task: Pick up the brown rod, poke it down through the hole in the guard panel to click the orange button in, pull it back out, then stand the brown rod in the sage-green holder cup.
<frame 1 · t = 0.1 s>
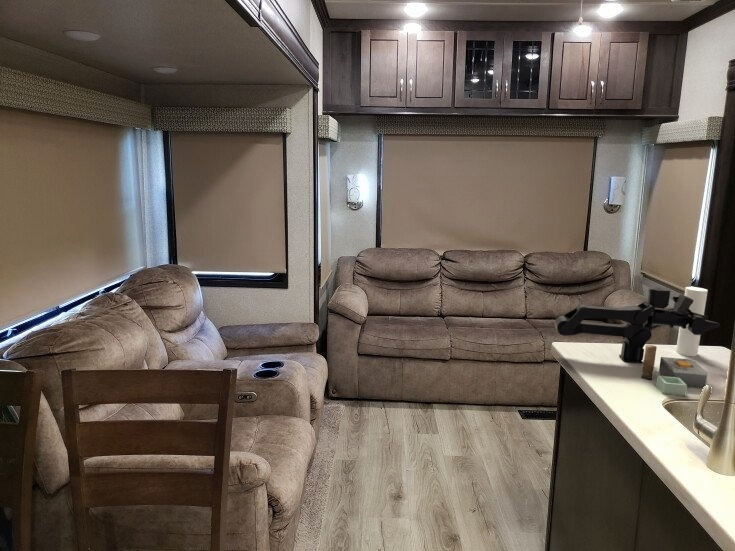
hand: (713, 321, 197), 17 cm above the worktop, tool horizontal, fingers open, 9 cm apart
button: (682, 367, 185), point 4 cm above the worktop, slide at 0.0 cm
guard panel: (680, 380, 186), on the worktop
holder cup: (670, 390, 176), on the worktop
brown rod: (646, 378, 187), on the worktop
cylindrical container: (686, 353, 214), on the worktop
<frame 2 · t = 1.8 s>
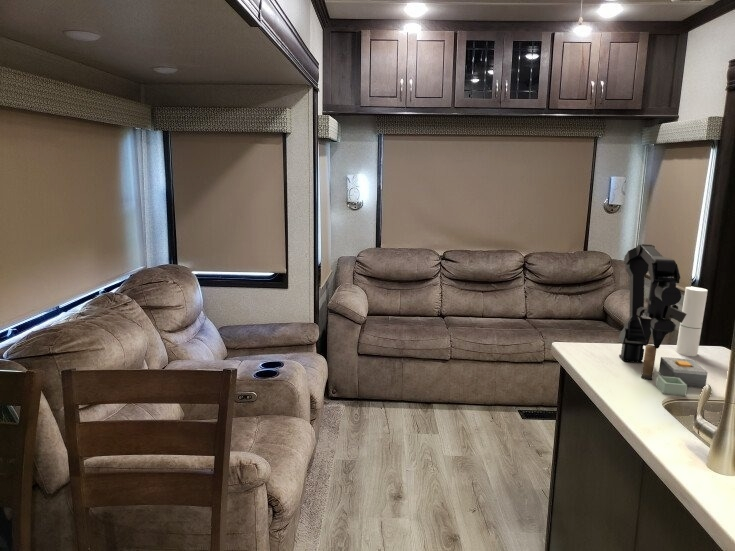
hand: (651, 343, 184), 12 cm above the worktop, tool pointing down, fingers open, 9 cm apart
nothing on the worktop moved.
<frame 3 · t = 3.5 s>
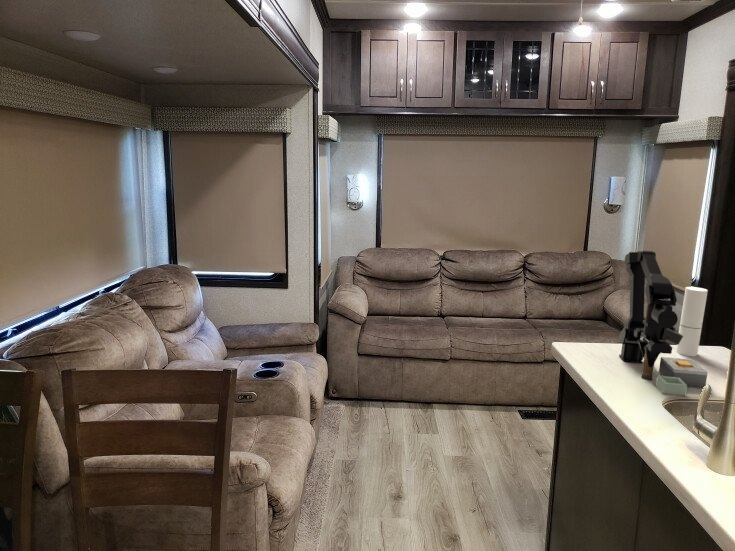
hand: (648, 365, 186), 5 cm above the worktop, tool pointing down, fingers closed on brown rod, 3 cm apart
brown rod: (646, 378, 187), on the worktop, touching gripper
everything else where it was.
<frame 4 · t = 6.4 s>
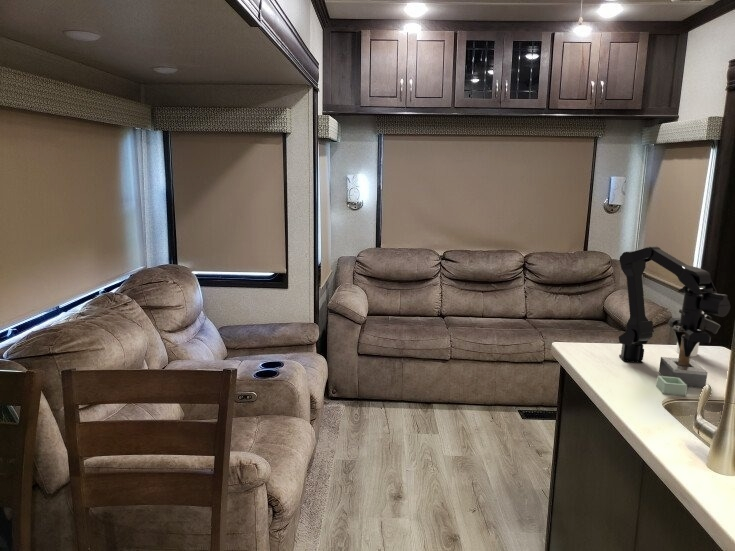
hand: (684, 354, 184), 9 cm above the worktop, tool pointing down, fingers closed on brown rod, 3 cm apart
button: (682, 373, 185), point 2 cm above the worktop, slide at 1.8 cm, touching brown rod
brown rod: (682, 367, 185), point 4 cm above the worktop, touching button, gripper
everything else where it was.
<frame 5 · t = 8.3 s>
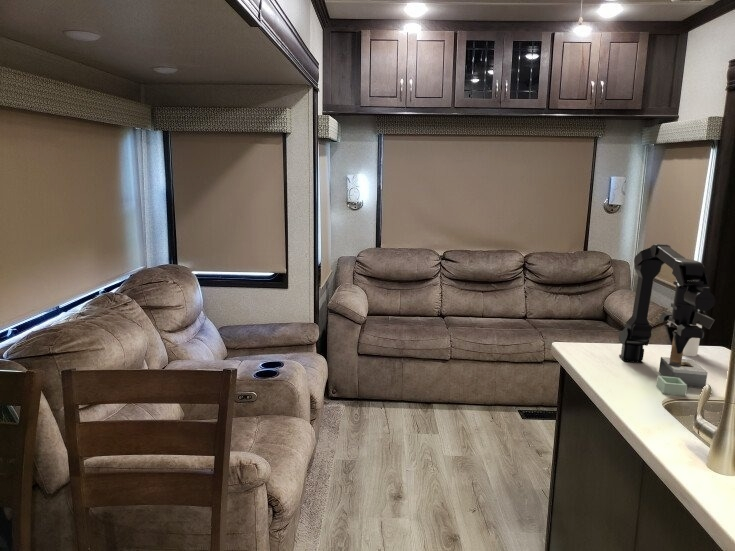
hand: (676, 351, 174), 13 cm above the worktop, tool pointing down, fingers closed on brown rod, 3 cm apart
button: (682, 373, 185), point 2 cm above the worktop, slide at 1.8 cm
brown rod: (674, 365, 175), point 8 cm above the worktop, touching gripper
everything else where it was.
when the fingers open (6 cm above the worktop, at t = 9.7 s): brown rod drops 1 cm, resting on holder cup.
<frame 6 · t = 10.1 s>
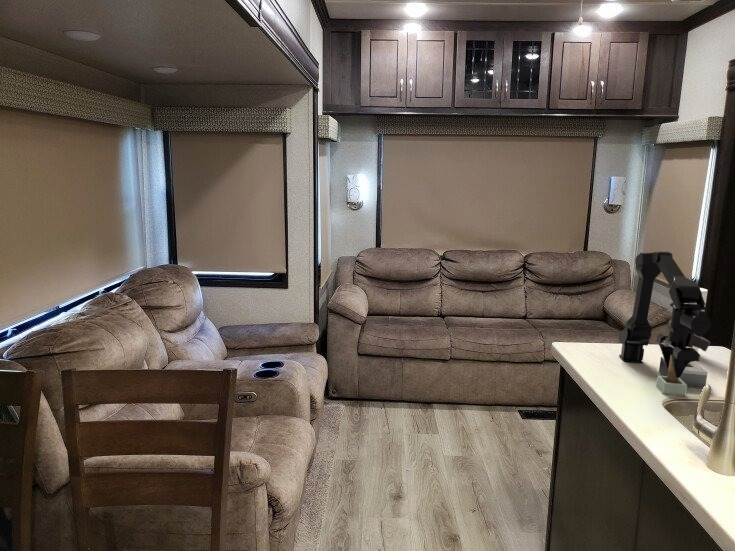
hand: (673, 372, 175), 6 cm above the worktop, tool pointing down, fingers open, 7 cm apart
brown rod: (670, 389, 176), resting on holder cup
everything else where it was.
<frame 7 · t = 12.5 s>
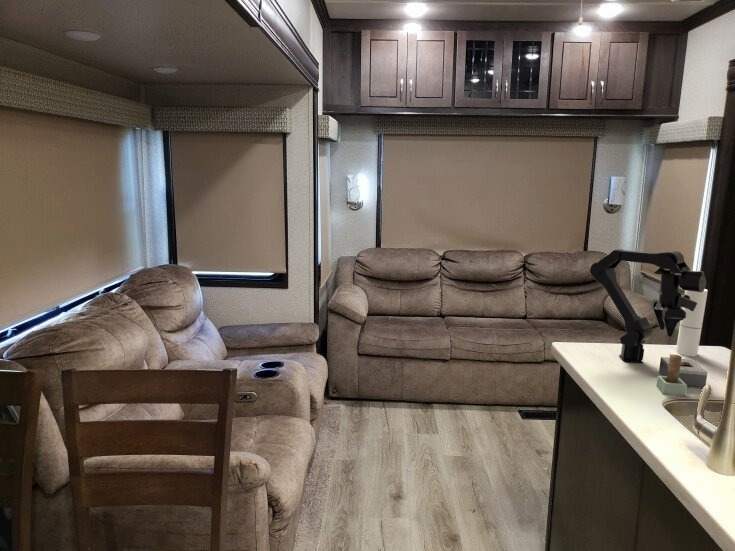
hand: (665, 333, 193), 13 cm above the worktop, tool pointing down, fingers open, 9 cm apart
nothing on the worktop moved.
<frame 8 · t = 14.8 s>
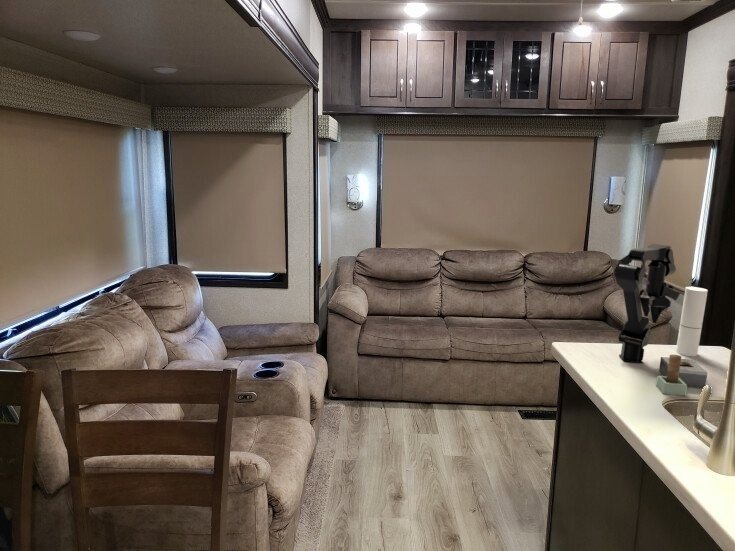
hand: (649, 319, 210), 13 cm above the worktop, tool pointing down, fingers open, 9 cm apart
nothing on the worktop moved.
at the end: button slide at 1.8 cm; brown rod 0.0 cm off-centre on the holder cup, point 0.4 cm above the holder cup's base; brown rod tilted 1° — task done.
